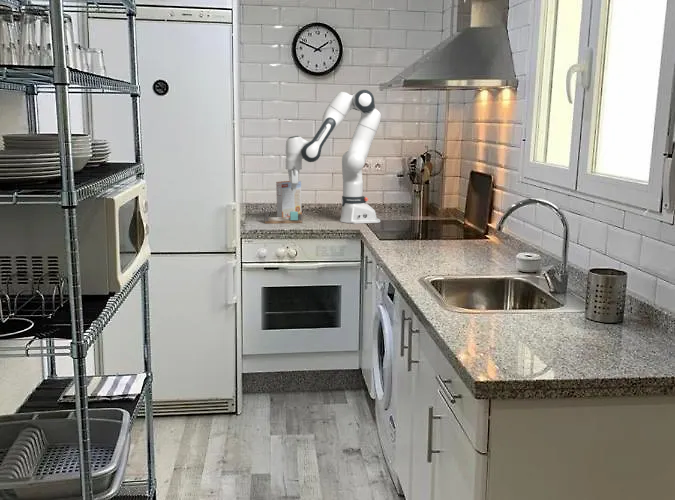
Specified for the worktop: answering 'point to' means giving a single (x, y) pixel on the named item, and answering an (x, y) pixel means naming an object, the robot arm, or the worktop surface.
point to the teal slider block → (294, 215)
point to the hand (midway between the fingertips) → (293, 191)
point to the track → (280, 219)
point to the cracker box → (288, 199)
